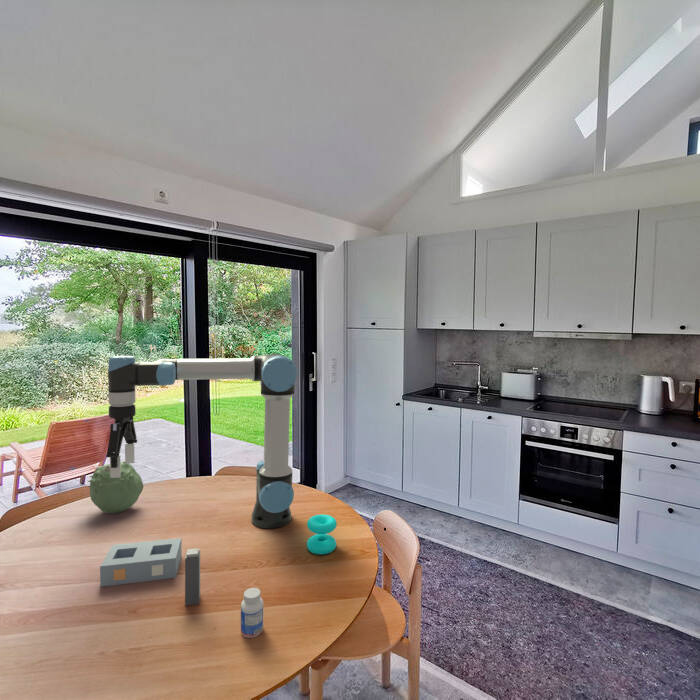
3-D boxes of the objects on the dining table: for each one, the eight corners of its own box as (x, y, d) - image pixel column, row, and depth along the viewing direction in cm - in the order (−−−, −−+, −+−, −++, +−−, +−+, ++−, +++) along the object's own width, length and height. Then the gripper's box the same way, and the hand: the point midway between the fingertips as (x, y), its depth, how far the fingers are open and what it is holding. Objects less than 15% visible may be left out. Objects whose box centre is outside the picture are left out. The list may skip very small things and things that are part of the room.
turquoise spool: (301, 519, 142) (322, 510, 149) (300, 548, 142) (322, 537, 150) (321, 529, 135) (342, 519, 142) (320, 559, 136) (342, 548, 143)
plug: (200, 595, 116) (200, 547, 116) (198, 603, 113) (198, 554, 112) (186, 597, 115) (186, 548, 115) (185, 605, 112) (184, 555, 111)
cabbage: (150, 509, 169) (150, 460, 168) (99, 526, 154) (98, 473, 153) (132, 499, 179) (132, 452, 178) (82, 514, 164) (82, 463, 163)
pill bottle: (242, 623, 106) (243, 585, 105) (264, 622, 106) (264, 585, 106) (238, 639, 101) (239, 599, 100) (261, 638, 101) (262, 599, 100)
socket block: (181, 556, 136) (181, 538, 136) (175, 578, 124) (175, 558, 124) (112, 563, 131) (112, 544, 131) (100, 587, 119) (99, 566, 119)
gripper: (122, 397, 146) (123, 458, 147) (93, 412, 121) (94, 484, 122) (146, 397, 147) (146, 457, 148) (121, 412, 123) (122, 483, 124)
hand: (123, 469), depth 135 cm, fingers open, 13 cm apart
